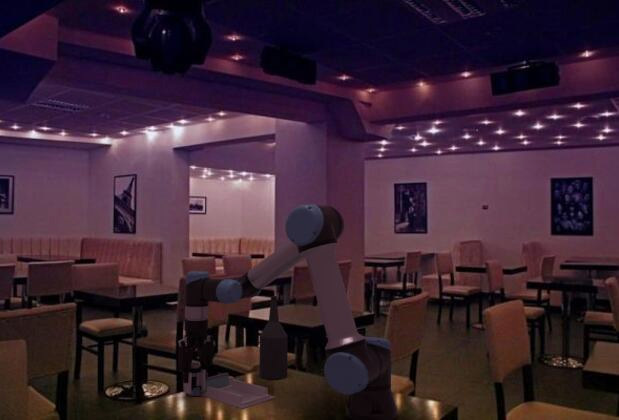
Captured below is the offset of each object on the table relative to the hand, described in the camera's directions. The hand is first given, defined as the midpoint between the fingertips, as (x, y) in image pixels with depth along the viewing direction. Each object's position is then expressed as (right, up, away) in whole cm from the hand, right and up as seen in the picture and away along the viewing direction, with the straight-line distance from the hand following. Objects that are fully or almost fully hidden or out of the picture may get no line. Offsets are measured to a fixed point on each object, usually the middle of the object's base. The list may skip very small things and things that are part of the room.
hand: (194, 390), depth 185 cm
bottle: (+24, -3, +25) cm, 35 cm away
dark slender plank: (+6, -2, +7) cm, 9 cm away
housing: (+13, -2, +1) cm, 14 cm away
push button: (0, -2, +1) cm, 2 cm away
